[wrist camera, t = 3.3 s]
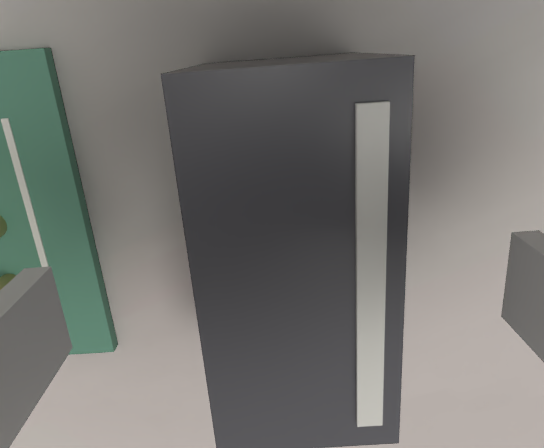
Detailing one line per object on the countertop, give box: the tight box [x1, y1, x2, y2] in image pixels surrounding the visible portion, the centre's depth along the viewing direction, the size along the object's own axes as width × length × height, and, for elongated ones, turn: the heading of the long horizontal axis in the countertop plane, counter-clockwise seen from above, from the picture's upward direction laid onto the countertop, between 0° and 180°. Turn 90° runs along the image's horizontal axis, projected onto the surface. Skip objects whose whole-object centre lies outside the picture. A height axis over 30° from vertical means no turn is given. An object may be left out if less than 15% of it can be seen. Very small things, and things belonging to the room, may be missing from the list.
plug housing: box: [161, 53, 415, 448], centre depth 17 cm, size 12×6×8 cm, turn 4°
